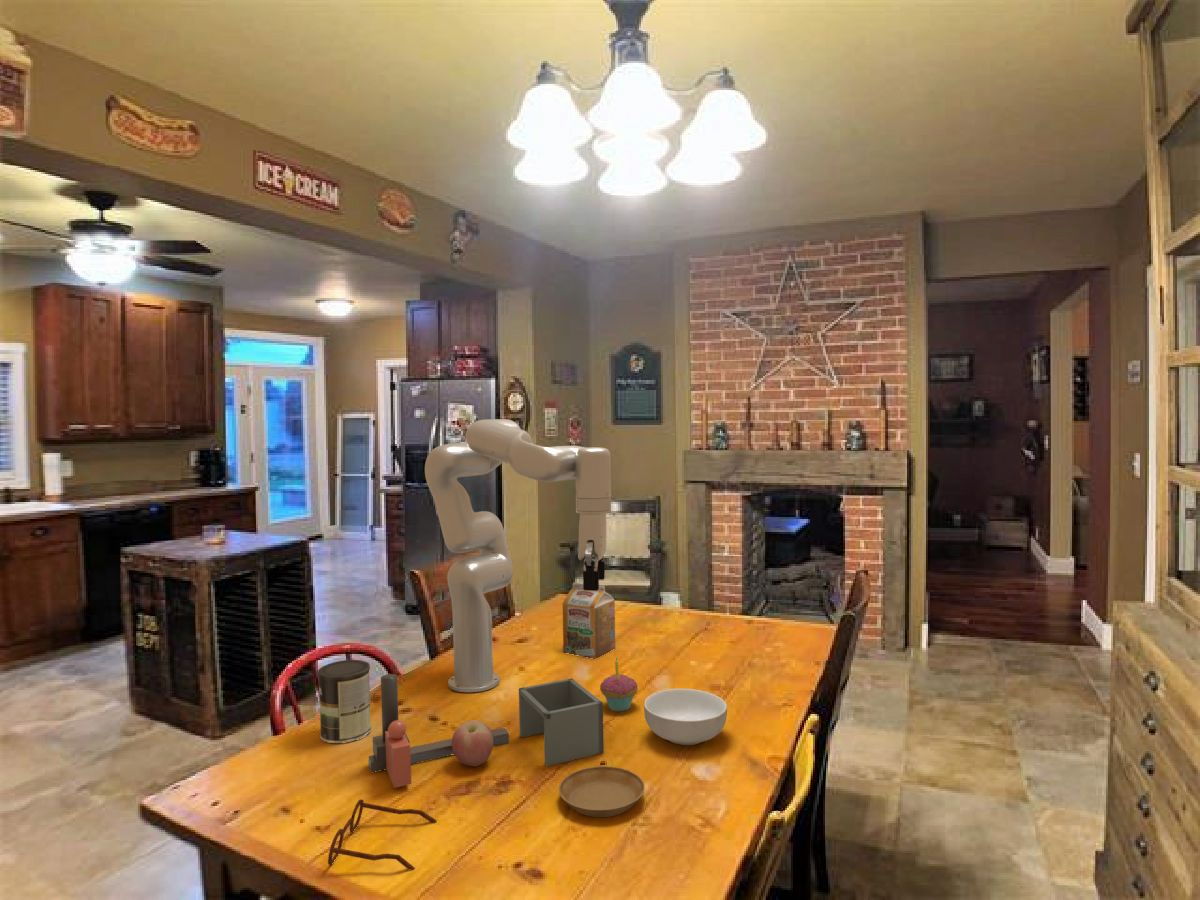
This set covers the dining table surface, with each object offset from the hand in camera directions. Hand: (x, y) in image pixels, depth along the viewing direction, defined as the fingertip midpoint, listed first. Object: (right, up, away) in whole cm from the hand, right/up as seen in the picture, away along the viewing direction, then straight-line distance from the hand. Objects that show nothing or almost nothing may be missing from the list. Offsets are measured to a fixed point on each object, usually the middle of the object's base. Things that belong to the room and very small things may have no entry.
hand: (594, 584), depth 156 cm
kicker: (-37, -30, -21) cm, 52 cm away
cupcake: (+6, -30, +9) cm, 31 cm away
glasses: (-32, -33, -43) cm, 63 cm away
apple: (-23, -31, -17) cm, 43 cm away
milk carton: (-2, -28, +48) cm, 56 cm away
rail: (-30, -31, -13) cm, 45 cm away
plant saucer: (+2, -32, -31) cm, 44 cm away
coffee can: (-52, -31, -3) cm, 61 cm away
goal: (-7, -30, -10) cm, 33 cm away
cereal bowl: (+19, -30, -7) cm, 36 cm away
